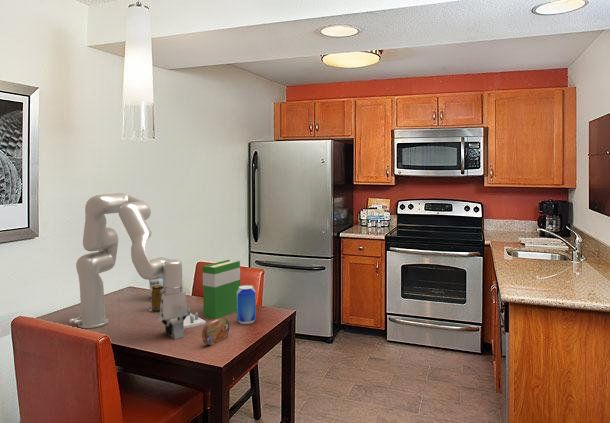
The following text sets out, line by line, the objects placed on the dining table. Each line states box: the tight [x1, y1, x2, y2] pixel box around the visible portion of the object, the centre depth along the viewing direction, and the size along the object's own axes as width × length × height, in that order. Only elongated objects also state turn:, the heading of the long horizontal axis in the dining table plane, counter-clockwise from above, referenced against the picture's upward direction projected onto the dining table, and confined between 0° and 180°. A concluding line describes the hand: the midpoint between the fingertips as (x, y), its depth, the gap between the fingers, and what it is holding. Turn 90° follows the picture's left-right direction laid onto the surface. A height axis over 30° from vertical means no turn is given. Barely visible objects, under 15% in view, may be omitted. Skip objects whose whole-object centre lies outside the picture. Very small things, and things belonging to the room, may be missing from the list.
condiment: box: [148, 285, 164, 314], centre depth 226 cm, size 7×8×12 cm
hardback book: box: [202, 259, 241, 320], centre depth 222 cm, size 18×7×24 cm, turn 147°
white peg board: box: [183, 307, 207, 330], centre depth 211 cm, size 11×18×4 cm, turn 39°
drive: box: [163, 318, 185, 340], centre depth 194 cm, size 4×10×6 cm, turn 39°
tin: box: [201, 317, 230, 346], centre depth 187 cm, size 15×3×8 cm, turn 153°
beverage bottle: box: [148, 275, 163, 302], centre depth 244 cm, size 8×8×20 cm
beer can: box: [236, 284, 257, 325], centre depth 210 cm, size 8×8×16 cm
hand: (174, 332), depth 194 cm, fingers closed on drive, 4 cm apart
